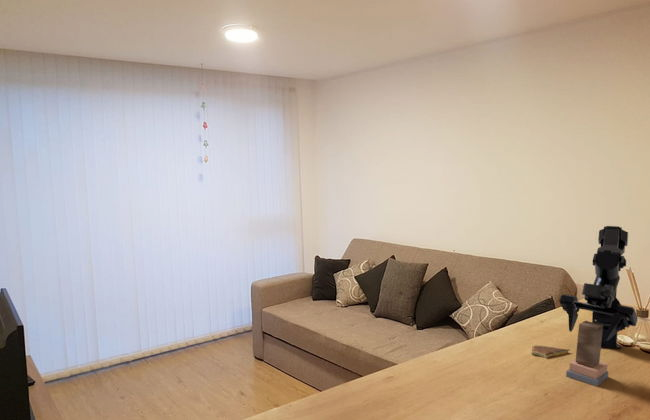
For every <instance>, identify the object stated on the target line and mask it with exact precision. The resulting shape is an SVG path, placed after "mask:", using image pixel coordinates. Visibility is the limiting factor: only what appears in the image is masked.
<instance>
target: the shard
mask: <svg viewBox="0 0 650 420" xmlns="http://www.w3.org/2000/svg"><path fill="white" fill-rule="evenodd" d="M569 351H570V349H567V348H566V349H565V348H560V347H559V348H558V347H553V346H544V345H537V344H534V345H532V346H531V355H535V356H538V357H541V358H543V359H548V358H551V357H555V356H556V357H557V356H561V355H565V354H568V353H569Z"/></svg>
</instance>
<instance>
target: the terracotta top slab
mask: <svg viewBox="0 0 650 420" xmlns="http://www.w3.org/2000/svg"><path fill="white" fill-rule="evenodd" d="M575 361H576V358H575V359H574V360H572V361H570V362H569V369H568V370H570V371H573V372H576V373H579V374H582V375H585V376H588V377H591V378H594V379H597V378H599V377H600V376H602V375H603V374H605V373H606V372H607V371H608V363H606V362H601V361H599V364H598V365H596V366H595V367H593V368H592V367H589V366H586V365H583V364H580V363H577V362H575Z"/></svg>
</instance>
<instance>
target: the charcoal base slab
mask: <svg viewBox="0 0 650 420" xmlns="http://www.w3.org/2000/svg"><path fill="white" fill-rule="evenodd" d="M565 374H566V375H565V377H566V378H569V379H573V380H576V381H578V382H582V383H586V384H589V385H590V386H591V385H592V386H595V387H599V386H600V385H601V384H602V383H603V382H604V381H605V380H607V379H608V378H609V371H608V370H607V372H606V373H605V374H603V375H602V376H600V377H599V378H597V379H594V378H591V377H588V376H585V375H582V374H579V373H576V372H573V371H570V370H569V369H567V370H566V373H565Z"/></svg>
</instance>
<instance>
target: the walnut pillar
mask: <svg viewBox="0 0 650 420" xmlns="http://www.w3.org/2000/svg"><path fill="white" fill-rule="evenodd" d="M602 332H603V325H600V324H596V323H593V322H592V321H589V320H584V321H582V322H581V323H578V331H577V342H576V355H575V359H576V361H575V362H577V363H580V364H583V365H586V366H589V367H592V368H593V367H595V366H596V365H598V364H599V362H601V361H600V360H601V351H602V350H601V349H602V348H601V341H602Z"/></svg>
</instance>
